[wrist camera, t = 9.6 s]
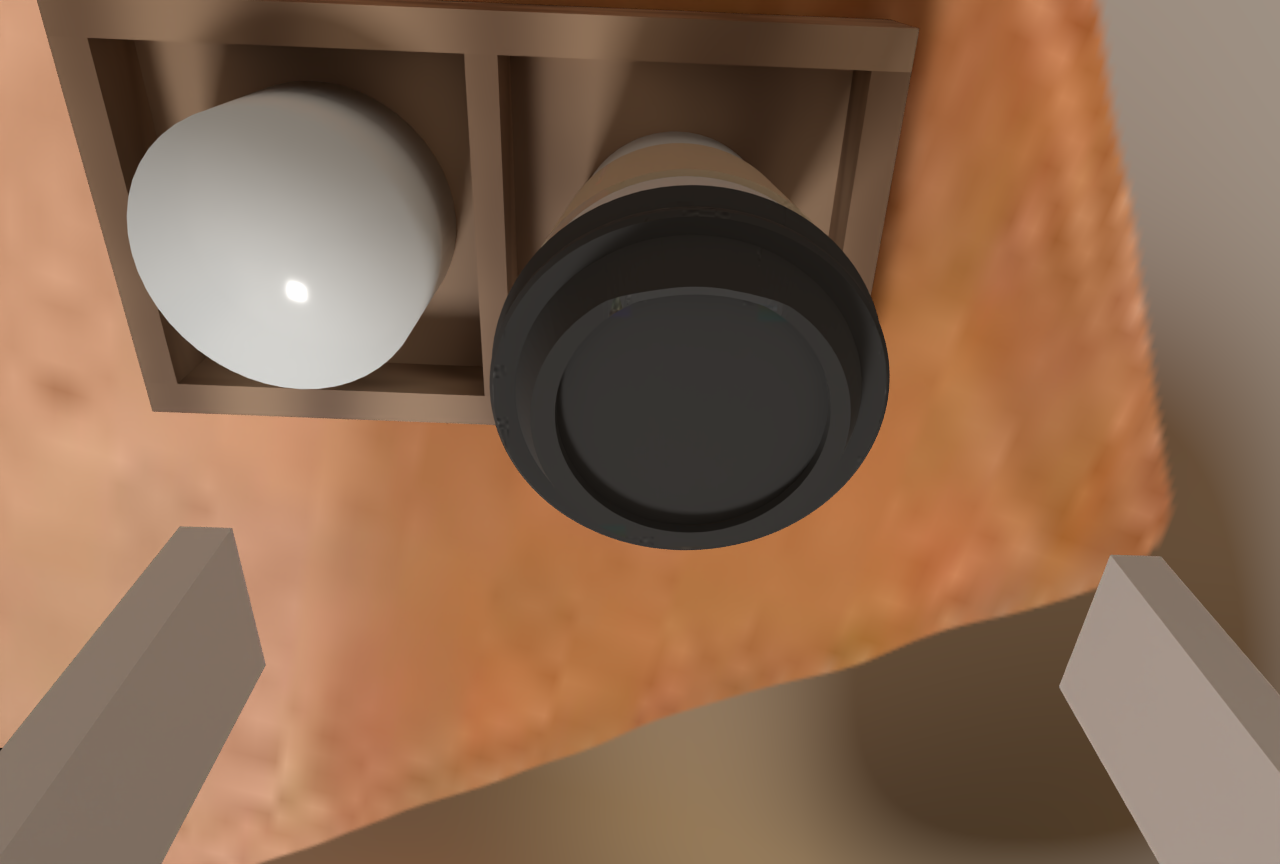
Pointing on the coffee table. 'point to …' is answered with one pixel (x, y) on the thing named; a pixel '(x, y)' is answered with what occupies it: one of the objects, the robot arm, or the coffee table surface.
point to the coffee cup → (687, 354)
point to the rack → (480, 142)
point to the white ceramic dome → (293, 232)
